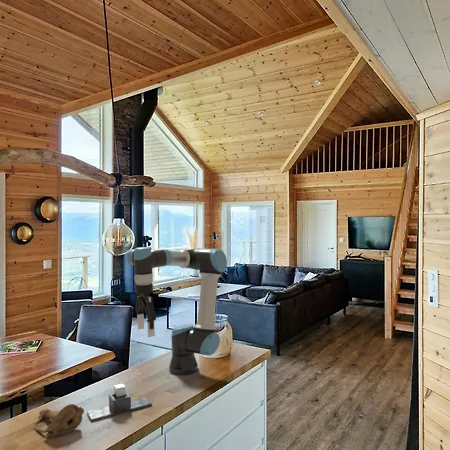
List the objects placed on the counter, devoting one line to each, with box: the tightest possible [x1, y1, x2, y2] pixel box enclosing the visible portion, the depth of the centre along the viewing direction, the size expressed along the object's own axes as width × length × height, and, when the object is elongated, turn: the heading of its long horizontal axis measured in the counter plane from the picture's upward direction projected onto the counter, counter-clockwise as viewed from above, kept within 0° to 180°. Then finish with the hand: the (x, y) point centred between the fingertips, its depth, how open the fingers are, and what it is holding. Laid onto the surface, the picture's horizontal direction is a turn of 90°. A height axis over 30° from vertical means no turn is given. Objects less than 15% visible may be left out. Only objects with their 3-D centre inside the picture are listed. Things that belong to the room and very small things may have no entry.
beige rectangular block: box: [113, 383, 126, 399], centre depth 171 cm, size 4×4×10 cm
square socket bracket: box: [86, 389, 153, 423], centre depth 170 cm, size 25×8×6 cm, turn 121°
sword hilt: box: [33, 403, 85, 437], centre depth 159 cm, size 10×24×15 cm
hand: (146, 332), depth 175 cm, fingers open, 13 cm apart
